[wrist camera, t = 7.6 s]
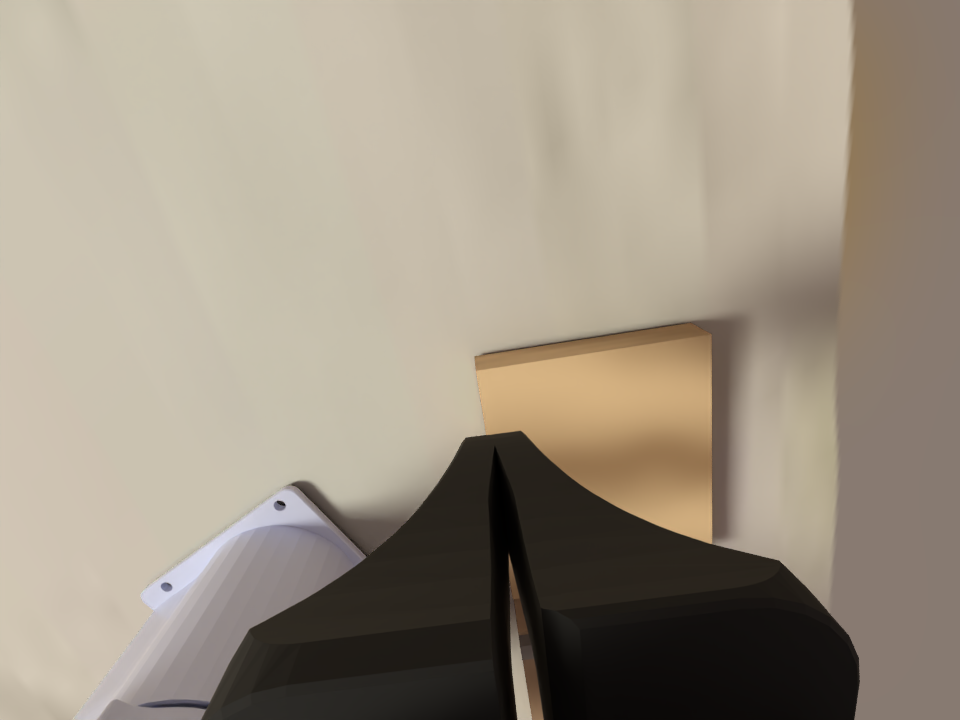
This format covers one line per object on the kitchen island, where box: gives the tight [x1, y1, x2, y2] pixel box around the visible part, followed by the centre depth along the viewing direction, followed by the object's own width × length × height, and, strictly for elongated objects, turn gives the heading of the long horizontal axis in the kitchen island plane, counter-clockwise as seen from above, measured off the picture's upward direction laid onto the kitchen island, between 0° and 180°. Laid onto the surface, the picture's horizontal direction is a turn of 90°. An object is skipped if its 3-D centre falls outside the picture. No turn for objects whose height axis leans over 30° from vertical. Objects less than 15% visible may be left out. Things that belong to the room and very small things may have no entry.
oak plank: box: [475, 323, 712, 599], centre depth 22 cm, size 11×9×2 cm
